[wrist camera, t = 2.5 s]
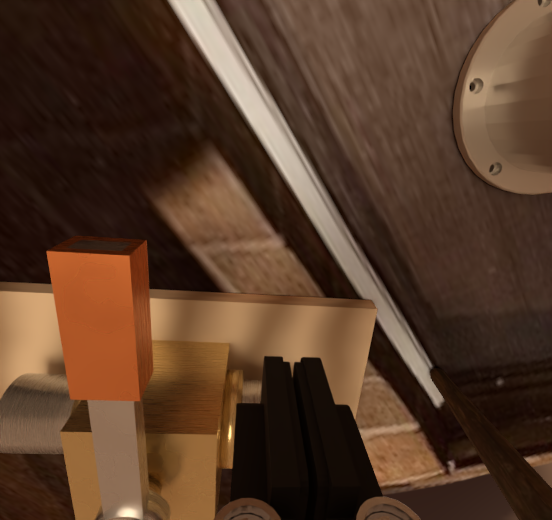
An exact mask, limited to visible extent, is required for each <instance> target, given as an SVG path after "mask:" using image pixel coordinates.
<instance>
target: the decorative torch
mask: <svg viewBox="0 0 552 520" xmlns="http://www.w3.org/2000/svg"><path fill="white" fill-rule="evenodd" d="M430 376H431V379H432V381H433V382H434V384H435V385H436V387H437V388H438V390H439V392H440V393H441V395H442V396H443V398H444V399H445V401H446V403H447V404H448V406H449V408H450V409H451V411H452V412H453V414H454V416H455V417H456V419H457V420H458V422H459V424H460V425H461V427H462V429H463V430H464V432H465V433H466V435H467V437H468V438H469V440H470V441H471V443H472V445H473V446H474V448H475V450H476V451H477V453H478V454H479V456H480V458H481V459H482V461H483V462H484V464H485V466H486V467H487V469H488V471H489V472H490V474H491V475H492V477H493V478H494V480H495V482H496V483H497V485H498V487H499V488H500V490H501V492H502V493H503V495H504V496H505V498H506V500H507V501H508V503H509V504H510V506H511V508H512V509H513V511H514V512H515V514H516V516H517V517H518V519H519V520H552V488H551V487H550V486H549V485H548V484H547V483H546V482H545V481H544V480H543V479H542V477H541V476H540V475H539V474H538V473H537V472H536V471H535V470H534V469H533V468H532V467H531V466H530V464H529V463H528V462H527V461H526V460H525V459H524V458H523V457H522V456H521V455H520V454H519V453H518V451H517V450H516V449H515V448H514V447H513V446H512V445H511V444H510V443H509V442H508V441H507V440H506V439H505V437H504V436H503V435H502V434H501V433H500V432H499V431H498V430H497V429H496V428H495V427H494V426H493V425H492V423H491V422H490V421H489V420H488V419H487V418H486V417H485V416H484V415H483V414H482V413H481V412H480V411H479V409H478V408H477V407H476V406H475V405H474V404H473V403H472V402H471V401H470V400H469V399H468V398H467V397H466V395H465V394H464V393H463V392H462V391H461V390H460V389H459V388H458V387H457V386H456V385H455V383H454V382H453V381H452V380H451V379H450V378H449V376H448V375H447V374H446V373H445V372H444V371H443V370H441V369H439V368H434V369H433V370H432V371H431V372H430Z"/></svg>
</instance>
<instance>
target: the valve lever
mask: <svg viewBox="0 0 552 520" xmlns="http://www.w3.org/2000/svg"><path fill="white" fill-rule="evenodd" d="M47 257H48V263H49V269H50V276H51V282H52V288H53V294H54V301H55V307H56V313H57V319H58V326H59V332H60V338H61V344H62V351H63V357H64V363H65V369H66V375H67V382H68V388H69V394H70V400H87V402H88V409H89V416H90V423H91V430H92V437H93V445H94V452H95V459H96V466H97V473H98V481H99V488H100V495H101V502H102V504H101V506H100V508H99V511H98V513H97V515H96V518H95V520H170V515H171V510H170V506H169V504H168V502H167V501H166V500H165V499H164V498H163V497H162V496H160V495H159V494H157V493H155V492H153V491H151V490H149V482H148V467H147V453H146V438H145V424H144V409H143V394H144V391H145V389H146V387H147V385H148V382H149V380H150V378H151V376H152V374H153V371H154V370H153V351H152V333H151V314H150V295H149V277H148V258H147V240H137V239H120V238H104V237H87V236H74V237H72V238H70V239H68V240H66V241H64V242H63V243H61V244H59V245H57V246H55V247H53V248H51V249H50V250H48V251H47Z"/></svg>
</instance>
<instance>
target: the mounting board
mask: <svg viewBox="0 0 552 520" xmlns="http://www.w3.org/2000/svg"><path fill="white" fill-rule="evenodd" d="M149 295H150V314H151V333H152V340H167V341H192V342H218V343H230V351H229V369H235V370H244V379H243V380H262V375H263V362H264V356H281V357H283V362H290V367H291V373H292V377H293V368H294V362H300V361H301V358H302V357H318V358H321V361H322V364H323V367H324V370H325V373H326V377H327V380H328V383H329V386H330V390H331V393H332V396H333V399H334V402H335V404H342V405H348V406H349V407H350V408H351V411H352V413H353V416H354V419H355V418H356V413H357V408H358V403H359V398H360V393H361V388H362V383H363V378H364V373H365V369H366V364H367V359H368V354H369V349H370V344H371V339H372V334H373V329H374V324H375V319H376V314H377V308H376V306H375V305H374V303H373V302H372V300H359V299H339V298H319V297H299V296H279V295H258V294H238V293H218V292H198V291H178V290H158V289H149ZM26 373H45V374H66V369H65V363H64V357H63V351H62V344H61V338H60V332H59V326H58V319H57V313H56V307H55V301H54V294H53V288H52V284H37V283H17V282H0V399H1V398H2V396H3V394H4V392H5V391H6V389H7V388H8V387H9V386H10V384H11V383H12V382H13V381H14V380H15V379H17V378H18V377H19V376H21V375H23V374H26Z"/></svg>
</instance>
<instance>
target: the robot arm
mask: <svg viewBox="0 0 552 520" xmlns="http://www.w3.org/2000/svg"><path fill="white" fill-rule="evenodd" d="M470 85H471V90H469V86H470ZM453 123H454V133H455V137H456V141H457V144H458V148H459V150H460V152H461V154H462V156H463V158H464V160H465V162H466V164H467V165H468V166H469V167H470V168H471V170H472V171H473V172H474V173H475V174H476V175H477V176H478V177H479V178H481V179H482V180H483V181H485V182H486V183H487V184H489V185H491V186H494V187H496V188H498V189H501V190H504V191H509V192H513V193H517V194H529V195H537V194H545V193H552V0H513V1H512V2H511V3H510V4H509V5H507V6H506V7H505V8H504V9H503V10H501V11H500V12H499V13H498V14H497V15H496V16H495V17H494V18H493V20H492V21H491V22H490V23H489V24H488V25H487V26H486V28H485V29H484V30H483V31H482V33H481V34H480V36H479V37H478V39H477V40H476V42H475V43H474V45H473V47H472V48H471V50H470V52H469V54H468V56H467V58H466V60H465V63H464V65H463V67H462V69H461V72H460V75H459V79H458V83H457V86H456V90H455V96H454V105H453ZM489 168H490V169H489ZM214 520H420V518H419V517H418V515H416V514H415V513H414V512H413V511H412V510H411V509H410V508H409V507H407V506H406V505H404V504H403V503H401V502H399V501H397V500H395V499H391V498H388V497H383V495H382V493H381V490H380V487H379V484H378V482H377V479H376V476H375V473H374V471H373V468H372V465H371V462H370V460H369V457H368V454H367V451H366V449H365V446H364V443H363V441H362V438H361V435H360V432H359V430H358V427H357V424H356V421H355V419H354V416H353V413H352V411H351V408H350V407H349V406H348V405H342V404H335V402H334V399H333V396H332V393H331V390H330V386H329V383H328V380H327V377H326V373H325V370H324V367H323V364H322V361H321V358H318V357H302V358H301V361H300V362H294V368H293V377H292V373H291V367H290V362H283V357H281V356H264V362H263V375H262V388H261V400H260V403H237V404H236V419H235V435H234V451H233V467H232V483H231V498H230V503H229V504H227V505H226V506H225V507H223V508H222V509H221V510H220V511H219V513H218V514H217V515H216V517H215V518H214Z"/></svg>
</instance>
